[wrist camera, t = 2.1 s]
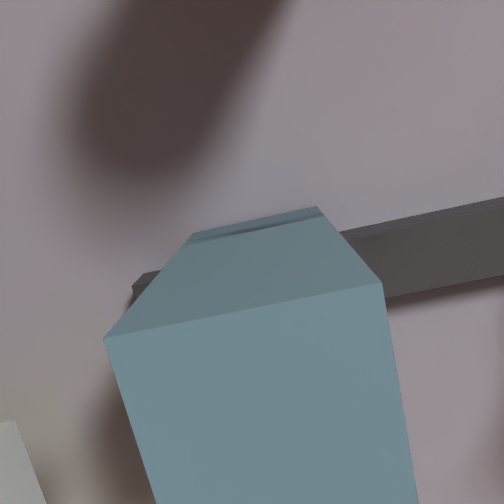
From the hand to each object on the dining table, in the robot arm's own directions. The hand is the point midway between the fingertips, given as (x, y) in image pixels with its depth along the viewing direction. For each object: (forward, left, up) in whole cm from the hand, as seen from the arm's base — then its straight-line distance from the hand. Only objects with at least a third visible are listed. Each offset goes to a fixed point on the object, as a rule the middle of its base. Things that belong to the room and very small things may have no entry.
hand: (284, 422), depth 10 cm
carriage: (0, 0, -12) cm, 12 cm away
